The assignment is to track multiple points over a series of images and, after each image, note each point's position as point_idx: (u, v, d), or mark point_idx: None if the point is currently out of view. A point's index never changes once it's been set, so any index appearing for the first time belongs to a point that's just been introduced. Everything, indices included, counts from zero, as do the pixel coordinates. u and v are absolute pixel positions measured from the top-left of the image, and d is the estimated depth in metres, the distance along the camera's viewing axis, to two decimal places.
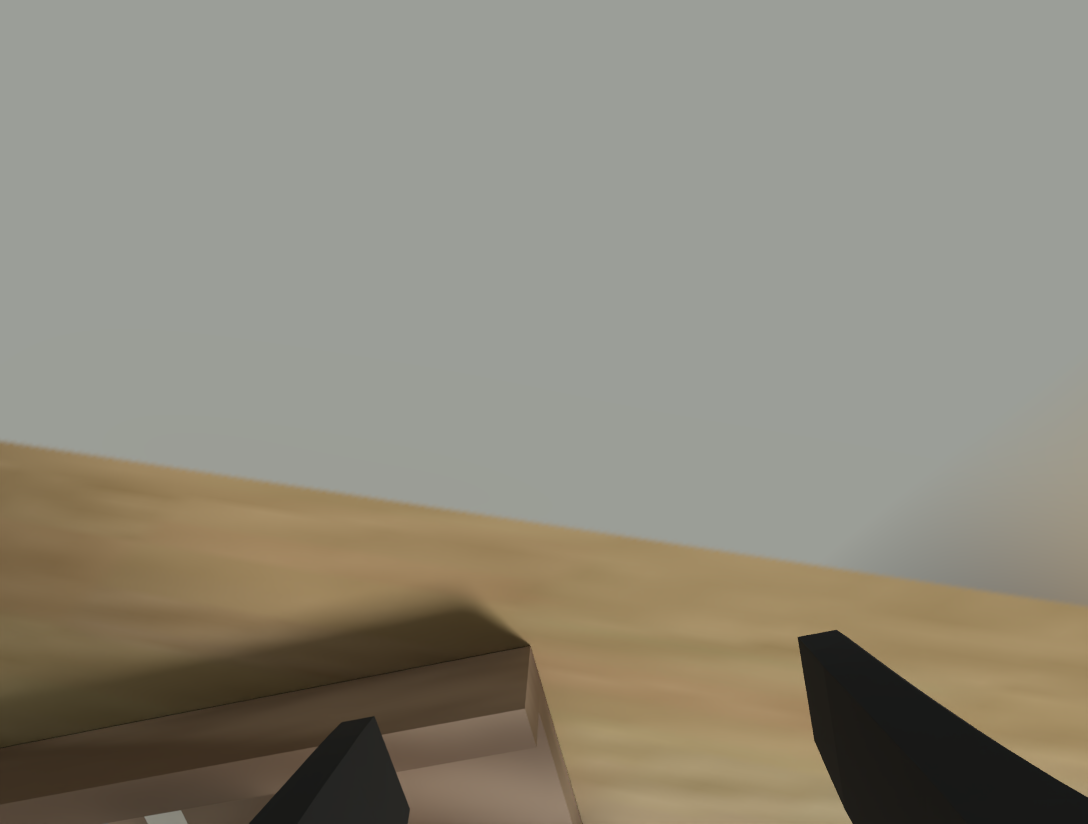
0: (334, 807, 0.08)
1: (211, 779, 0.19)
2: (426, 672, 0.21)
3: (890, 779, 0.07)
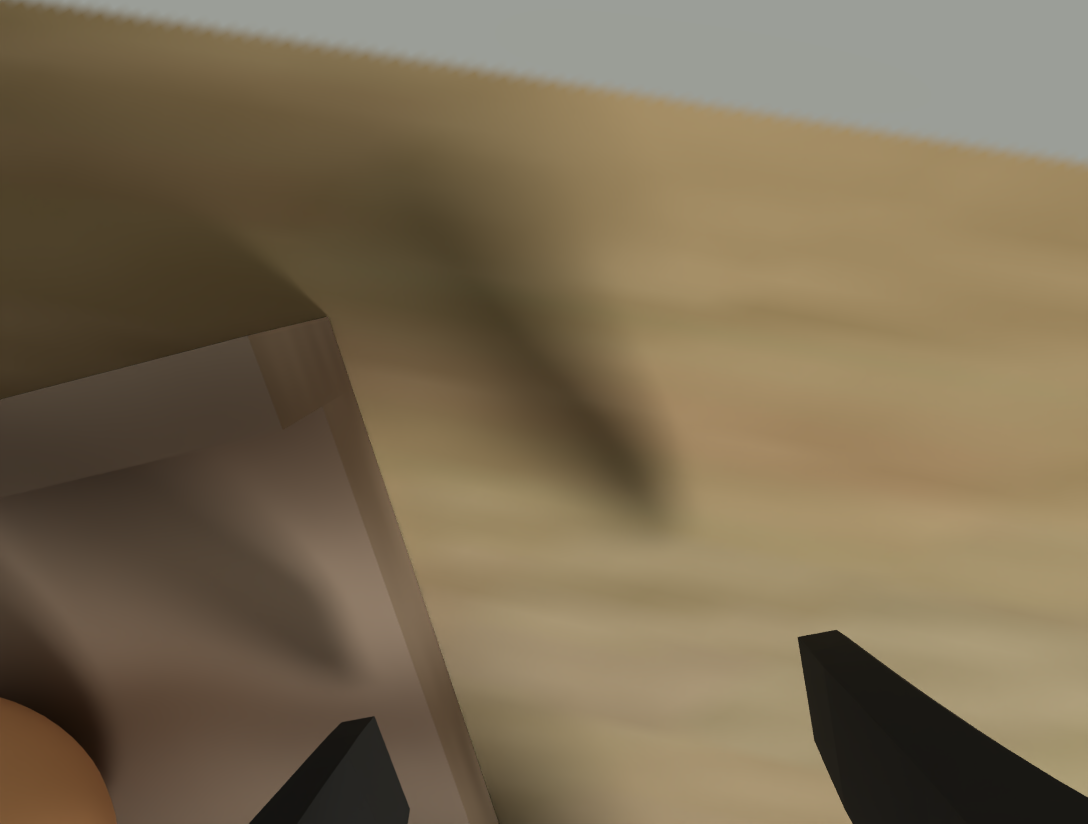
0: (334, 807, 0.08)
1: None
2: None
3: (890, 779, 0.07)
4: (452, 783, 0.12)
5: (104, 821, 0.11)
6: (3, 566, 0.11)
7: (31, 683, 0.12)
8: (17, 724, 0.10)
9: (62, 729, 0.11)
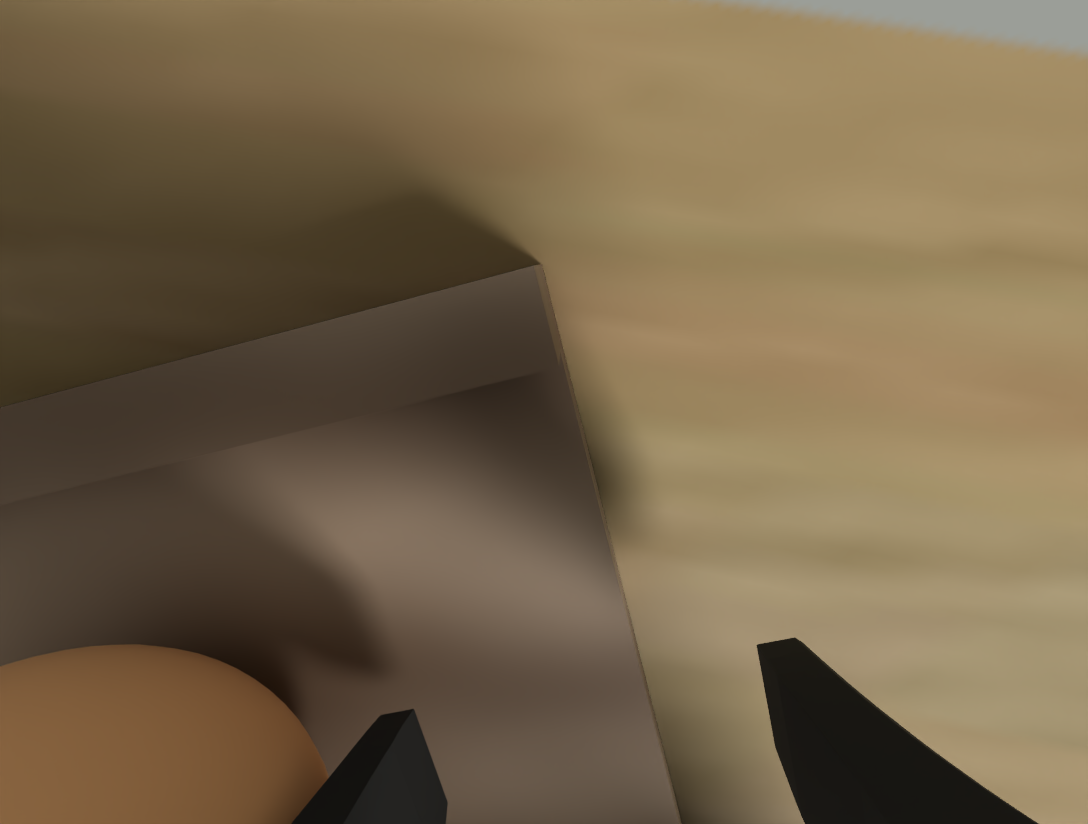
0: (381, 799, 0.08)
1: None
2: None
3: (834, 788, 0.07)
4: (657, 749, 0.12)
5: None
6: (210, 524, 0.11)
7: (227, 647, 0.12)
8: (248, 684, 0.10)
9: None
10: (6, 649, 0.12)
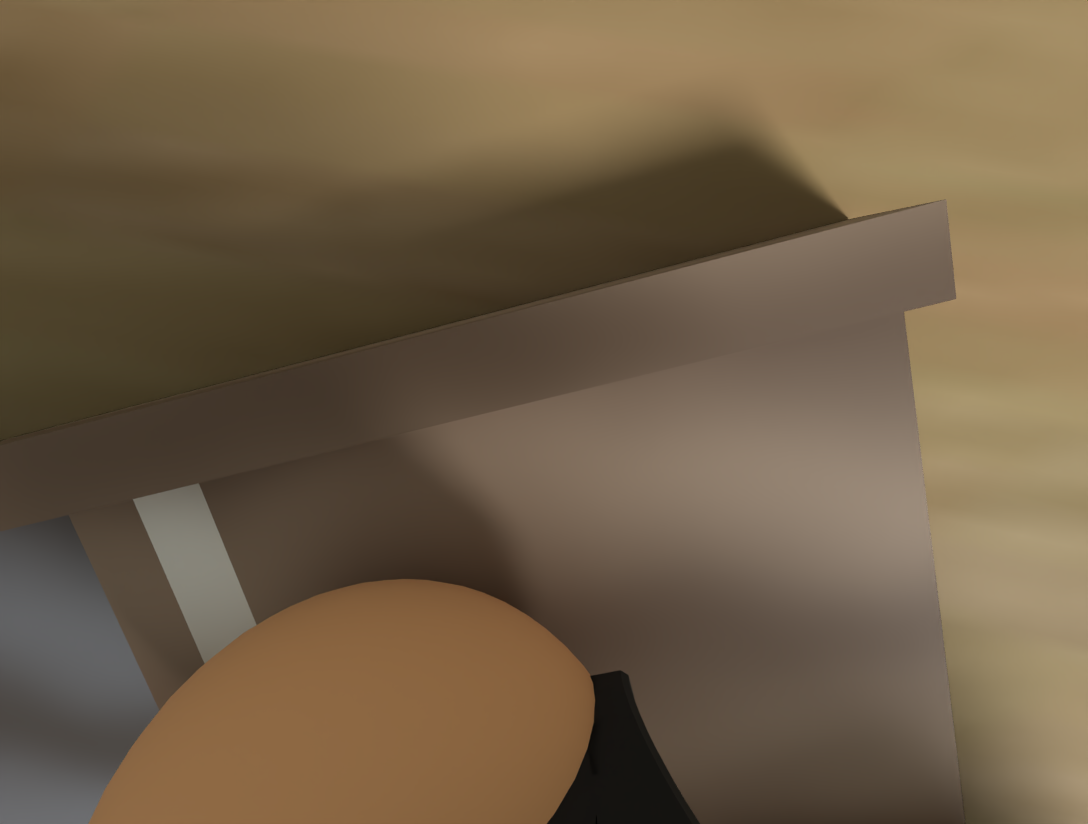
0: None
1: (287, 402, 0.10)
2: (664, 268, 0.12)
3: None
4: (947, 697, 0.12)
5: None
6: (532, 468, 0.11)
7: (529, 593, 0.12)
8: (564, 648, 0.09)
9: None
10: (308, 595, 0.12)
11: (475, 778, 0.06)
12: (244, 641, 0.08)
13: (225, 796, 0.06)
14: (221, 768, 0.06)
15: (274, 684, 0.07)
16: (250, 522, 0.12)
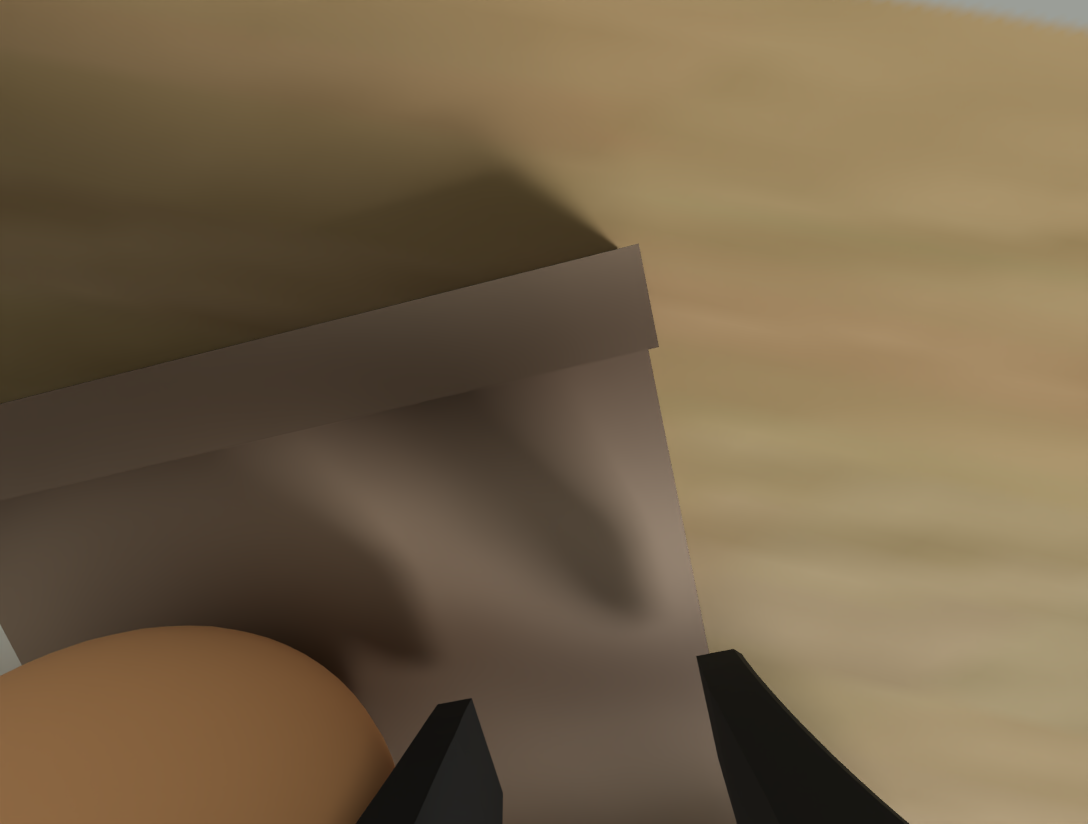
0: (449, 787, 0.08)
1: None
2: None
3: (753, 801, 0.07)
4: None
5: None
6: (282, 505, 0.11)
7: (293, 631, 0.12)
8: (319, 672, 0.10)
9: None
10: (69, 630, 0.12)
11: (192, 821, 0.06)
12: None
13: None
14: None
15: None
16: (0, 556, 0.12)
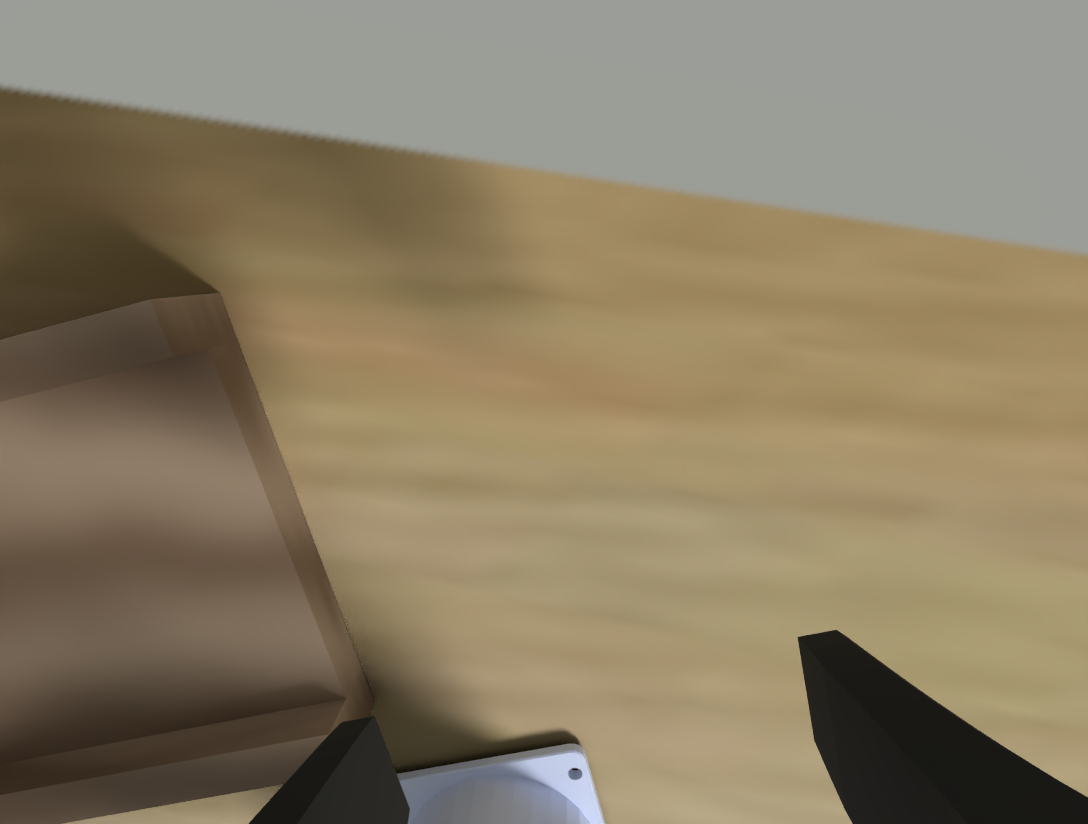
0: (334, 807, 0.08)
1: None
2: None
3: (890, 779, 0.07)
4: (309, 609, 0.18)
5: None
6: (5, 456, 0.17)
7: (24, 539, 0.18)
8: None
9: None
10: None
11: None
12: None
13: None
14: None
15: None
16: None
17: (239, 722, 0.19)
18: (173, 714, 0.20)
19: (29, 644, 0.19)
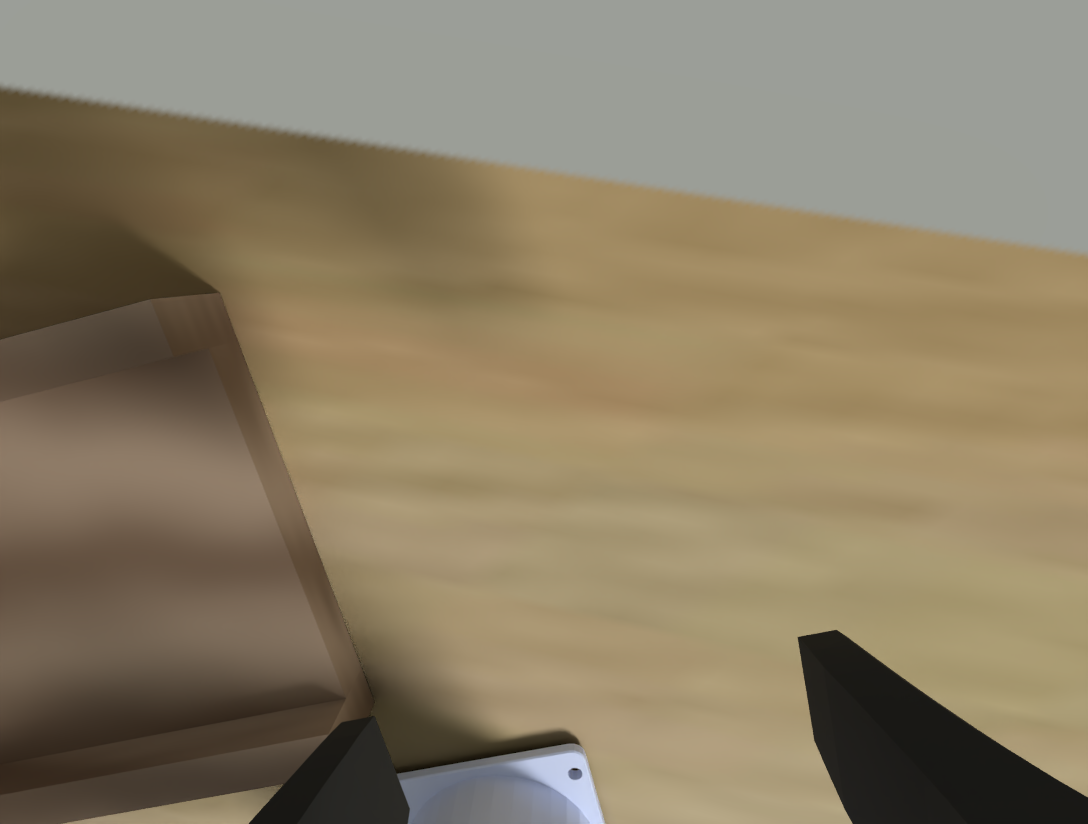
0: (334, 807, 0.08)
1: None
2: None
3: (890, 779, 0.07)
4: (309, 609, 0.18)
5: None
6: (5, 456, 0.17)
7: (24, 539, 0.18)
8: None
9: None
10: None
11: None
12: None
13: None
14: None
15: None
16: None
17: (239, 722, 0.19)
18: (173, 714, 0.20)
19: (29, 644, 0.19)
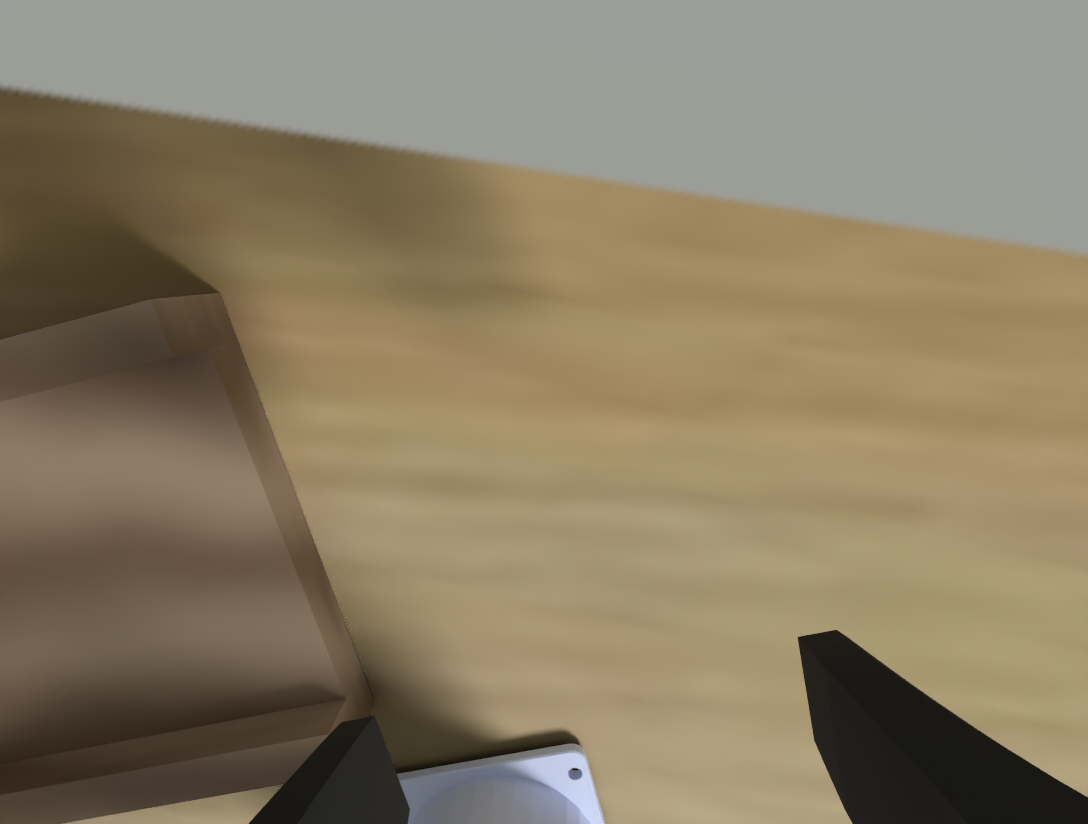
0: (334, 807, 0.08)
1: None
2: None
3: (890, 779, 0.07)
4: (309, 609, 0.18)
5: None
6: (5, 456, 0.17)
7: (24, 539, 0.18)
8: None
9: None
10: None
11: None
12: None
13: None
14: None
15: None
16: None
17: (239, 722, 0.19)
18: (173, 714, 0.20)
19: (29, 644, 0.19)
